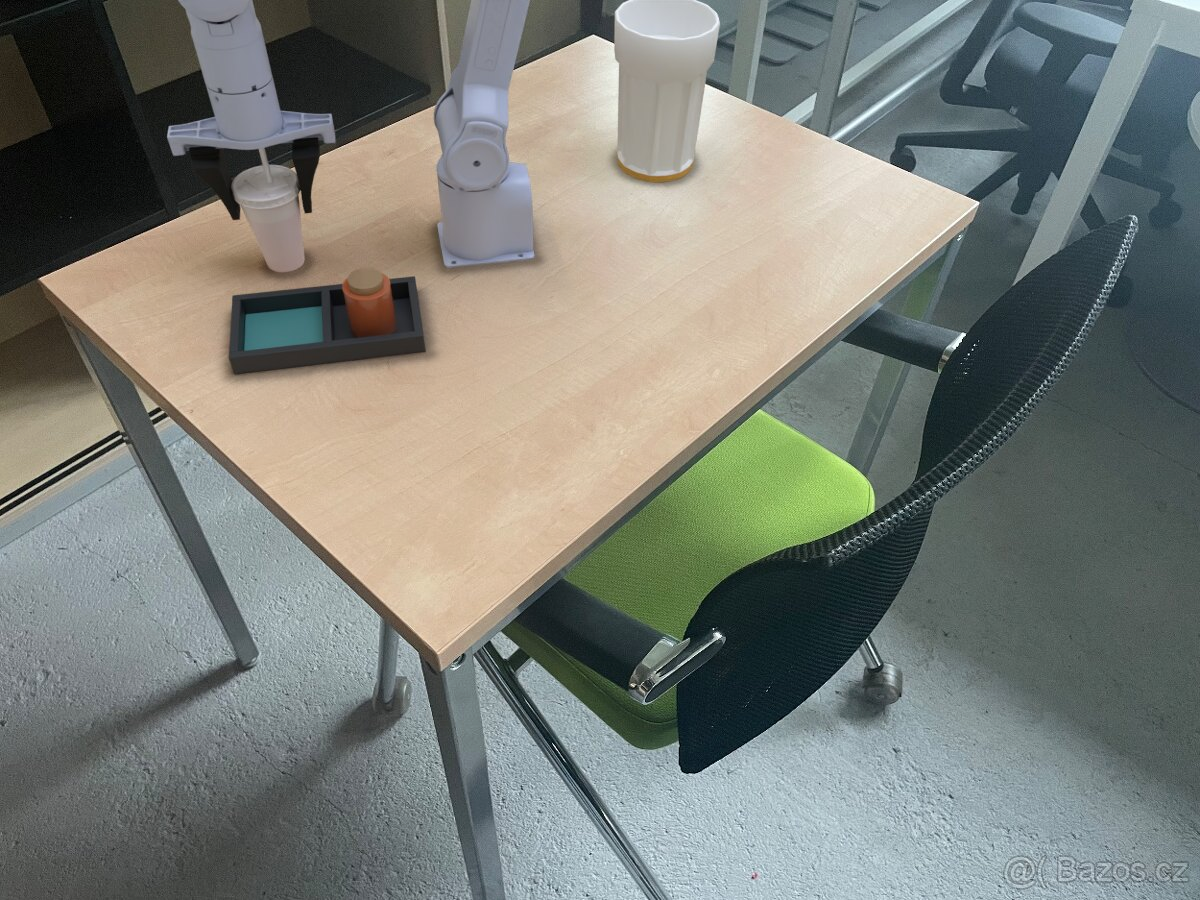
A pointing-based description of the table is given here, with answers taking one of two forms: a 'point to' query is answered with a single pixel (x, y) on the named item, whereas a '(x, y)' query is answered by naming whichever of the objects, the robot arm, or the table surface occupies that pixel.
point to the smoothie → (272, 212)
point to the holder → (315, 328)
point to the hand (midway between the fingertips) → (273, 210)
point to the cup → (661, 83)
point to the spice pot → (369, 303)
